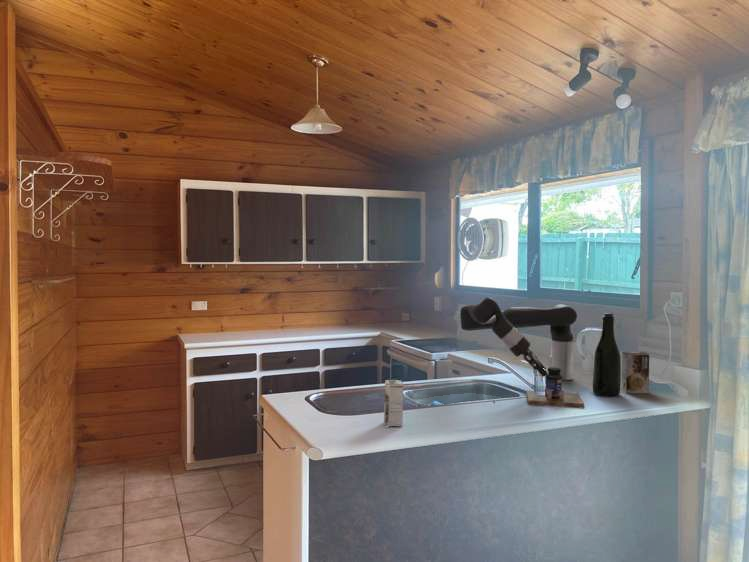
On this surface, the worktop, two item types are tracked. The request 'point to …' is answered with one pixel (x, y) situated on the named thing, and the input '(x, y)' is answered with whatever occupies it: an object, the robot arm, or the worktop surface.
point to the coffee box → (635, 372)
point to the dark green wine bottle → (607, 361)
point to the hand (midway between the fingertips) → (544, 372)
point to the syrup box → (393, 403)
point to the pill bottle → (554, 381)
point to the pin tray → (555, 399)
